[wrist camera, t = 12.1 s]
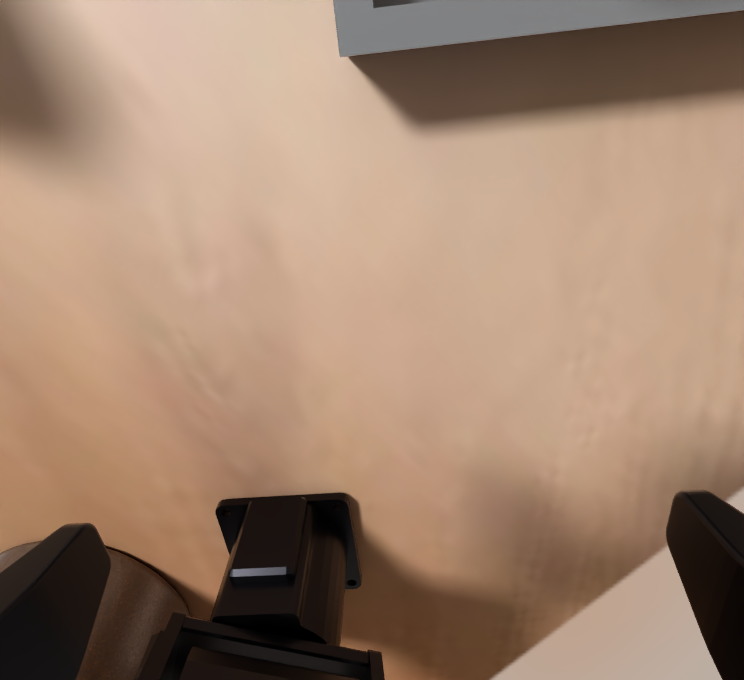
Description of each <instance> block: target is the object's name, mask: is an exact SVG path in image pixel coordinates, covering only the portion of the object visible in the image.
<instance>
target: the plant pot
mask: <svg viewBox="0 0 744 680" xmlns="http://www.w3.org/2000/svg"><path fill="white" fill-rule="evenodd" d="M40 542H42V541H39V542H33V543H27V544H23V545H20V546H17V547H14V548H11V549H9V550H6V551H4V552H2V553H1V554H0V572H1V571H3V570H4V569H5V568H7V567H8V566H9V565H11V564H12V563H13V562H15V561H16V560H17V559H19V558H20V557H21V556H23V555H24V554H26V553H27V552H28V551H30V550H31V549H32V548H34V547H35V546H36V545H38V544H39V543H40ZM106 549H107V551H108V553H109V555H110V559H111V569H110V574H109V577H108V581H107V584H106V587H105V590H104V594H103V597H102V600H101V603H100V607H99V610H98V613H97V616H96V619H95V623H94V626H93V629H92V632H91V636H90V639H89V642H88V645H87V649H86V652H85V655H84V658H83V661H82V664H81V667H80V670H79V672H78V675H77V677H76V680H133V679H134V677H135V675H136V672H137V670H138V668H139V666H140V663H141V661H142V658H143V656H144V653H145V651H146V649H147V646H148V644H149V641H150V639H151V636H152V635H154V634H157V633H159V632H160V630H161V629H166V626H167V624H168V622H169V620H170V618H171V615H172V613H173V611H176V612H182V613H187V616H189V617H190V614H189V611H188V609H187V607H186V605H185V603H184V602H183V600H182V598H181V597H180V595H179V594H178V593H177V592H176V591H175V590H174V589H173V587H171V586H170V585H169V584H168V583H167V582H166V581H165V580H164V579H163V578H162V577H160V576H159V575H158V574H157V573H155V572H154V571H153V570H151V569H149V568H148V567H146V566H145V565H143V564H142V563H140V562H138V561H136V560H134V559H132V558H130V557H128V556H126V555H124V554H122V553H119V552H117V551H114V550H111V549H108V548H106Z"/></svg>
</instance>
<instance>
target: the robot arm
mask: <svg viewBox="0 0 744 680" xmlns="http://www.w3.org/2000/svg"><path fill="white" fill-rule="evenodd" d="M336 503H340V505H338V504H336ZM225 509H226V510H225ZM228 510H229V511H228ZM216 516H217V519H218V522H219V525H220V528H221V531H222V534H223V537H224V540H225V543H226V546H227V549H228V552H229V555H230V557H229V561H228V564H227V567H226V570H225V573H224V576H223V580H222V583H221V586H220V589H219V592H218V595H217V599H216V602H215V605H214V608H213V611H212V614H211V618H210V621H209V620H204V619H199V618H194V617H189V616H187V613H182V612H176V611H173V613H172V615H171V618H170V620H169V622H168V624H167V626H166V629H161V630H160V632H159V633H157V634H154V635H152V636H151V639H150V641H149V644H148V646H147V649H146V651H145V653H144V656H143V658H142V661H141V663H140V666H139V668H138V670H137V672H136V675H135V677H134V679H133V680H385V679H384V670H383V662H382V654H381V652H378V651H373V650H368V651H367V652H366V651H361V650H356V649H351V648H346V647H340V641H341V628H342V616H343V604H344V592H345V589H356V588H358V587H360V585H361V577H362V575H361V569H360V563H359V557H358V551H357V545H356V539H355V533H354V527H353V521H352V515H351V509H350V503H349V499H348V497H347V496H346V495H344V494H341V493H332V494H314V495H296V496H278V497H260V498H243V499H225V500H222V501H220V502H219V504H218V506H217V508H216ZM666 538H667V543H668V546H669V549H670V552H671V554H672V557H673V560H674V562H675V565H676V568H677V570H678V573H679V576H680V578H681V581H682V583H683V586H684V588H685V591H686V594H687V597H688V599H689V602H690V604H691V607H692V610H693V612H694V615H695V618H696V620H697V623H698V625H699V628H700V631H701V633H702V636H703V638H704V640H705V643H706V645H707V648H708V650H709V652H710V655H711V657H712V659H713V661H714V663H715V665H716V667H717V669H718V672H719V674H720V675H721V678H722V679H723V680H744V514H743V513H742V512H740V511H739V510H737V509H736V508H734V507H733V506H731V505H730V504H728V503H727V502H725V501H724V500H722V499H721V498H719V497H717V496H716V495H714V494H713V493H711V492H709V491H706V490H690V491H679V492H677V493H676V494H675V496H674V498H673V502H672V506H671V511H670V515H669V519H668V524H667V528H666ZM110 569H111V559H110V555H109V553H108V551H107V549H106V547H105V545H104V543H103V541H102V539H101V537H100V535H99V533H98V531H97V529H96V527H95V526H94V525H92V524H91V523H76V524H67V525H64V526H62V527H60V528H59V529H58V530H56V531H55V532H54V533H52V534H51V535H50V536H48V537H47V538H46V539H44V540H43V541H42V542H40V543H39V544H38V545H36V546H35V547H34V548H32V549H31V550H30V551H28V552H27V553H26V554H24V555H23V556H21V557H20V558H19V559H17V560H16V561H15V562H13V563H12V564H11V565H9V566H8V567H7V568H5V569H4V570H3V571H1V572H0V680H76V677H77V675H78V672H79V670H80V667H81V664H82V661H83V658H84V655H85V652H86V649H87V645H88V642H89V639H90V636H91V632H92V629H93V626H94V623H95V619H96V616H97V613H98V610H99V607H100V603H101V600H102V597H103V594H104V590H105V587H106V584H107V581H108V577H109V574H110Z"/></svg>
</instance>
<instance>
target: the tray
mask: <svg viewBox="0 0 744 680" xmlns="http://www.w3.org/2000/svg"><path fill="white" fill-rule="evenodd" d="M333 2H334V11H335V20H336V28H337V37H338V46H339V54H340V57H349V56H357V55H366V54H374V53H383V52H392V51H400V50H409V49H417V48H426V47H435V46H443V45H452V44H460V43H469V42H478V41H486V40H495V39H503V38H512V37H521V36H529V35H538V34H546V33H555V32H564V31H572V30H581V29H589V28H598V27H607V26H615V25H624V24H632V23H641V22H650V21H658V20H667V19H676V18H684V17H693V16H701V15H710V14H719V13H727V12H736V11H744V0H333Z"/></svg>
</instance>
